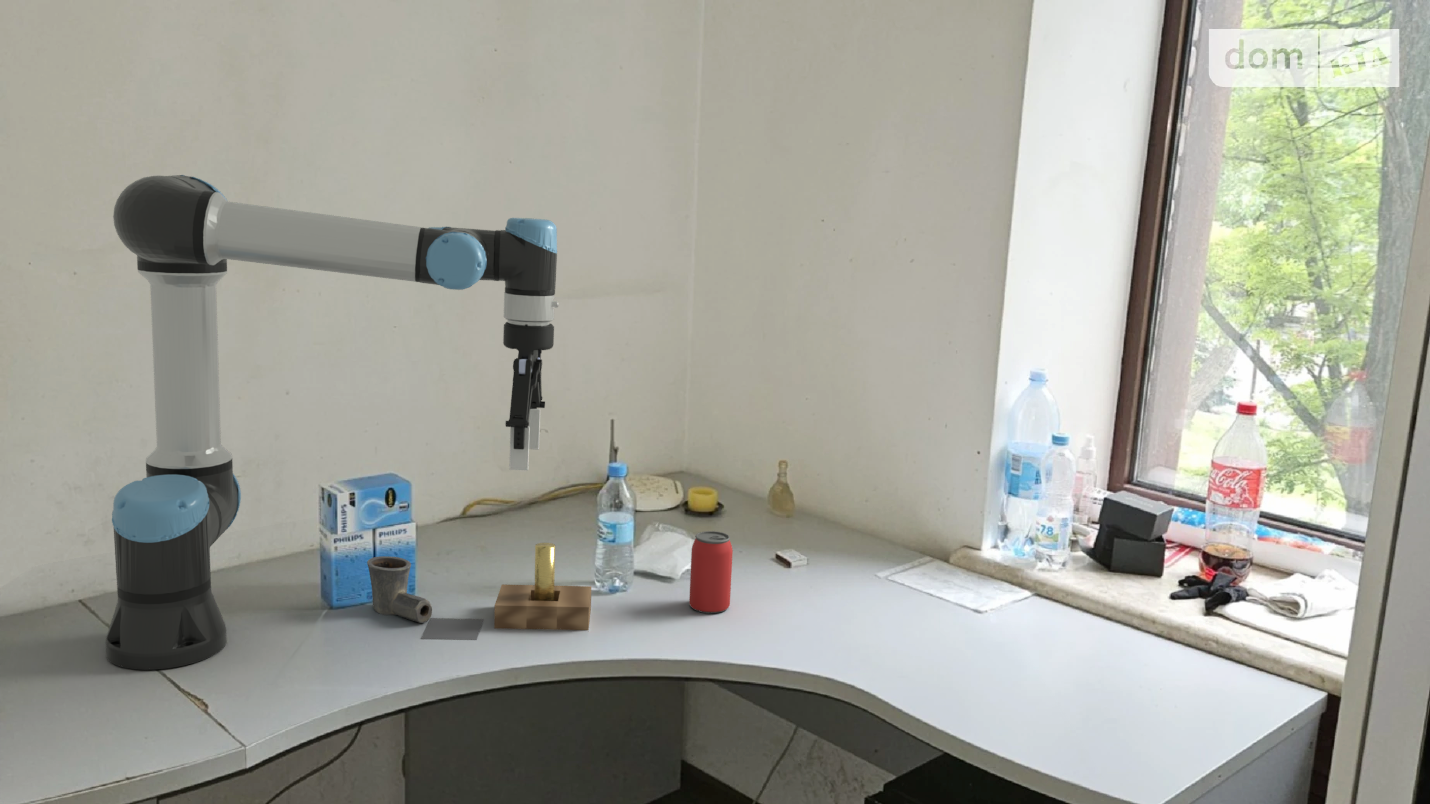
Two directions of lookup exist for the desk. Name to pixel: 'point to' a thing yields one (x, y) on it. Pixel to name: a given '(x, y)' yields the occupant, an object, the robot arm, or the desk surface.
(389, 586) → the pipe
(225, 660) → the desk surface
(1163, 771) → the desk surface
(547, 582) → the pin
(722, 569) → the beer can
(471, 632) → the mat
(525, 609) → the socket block
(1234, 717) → the desk surface
